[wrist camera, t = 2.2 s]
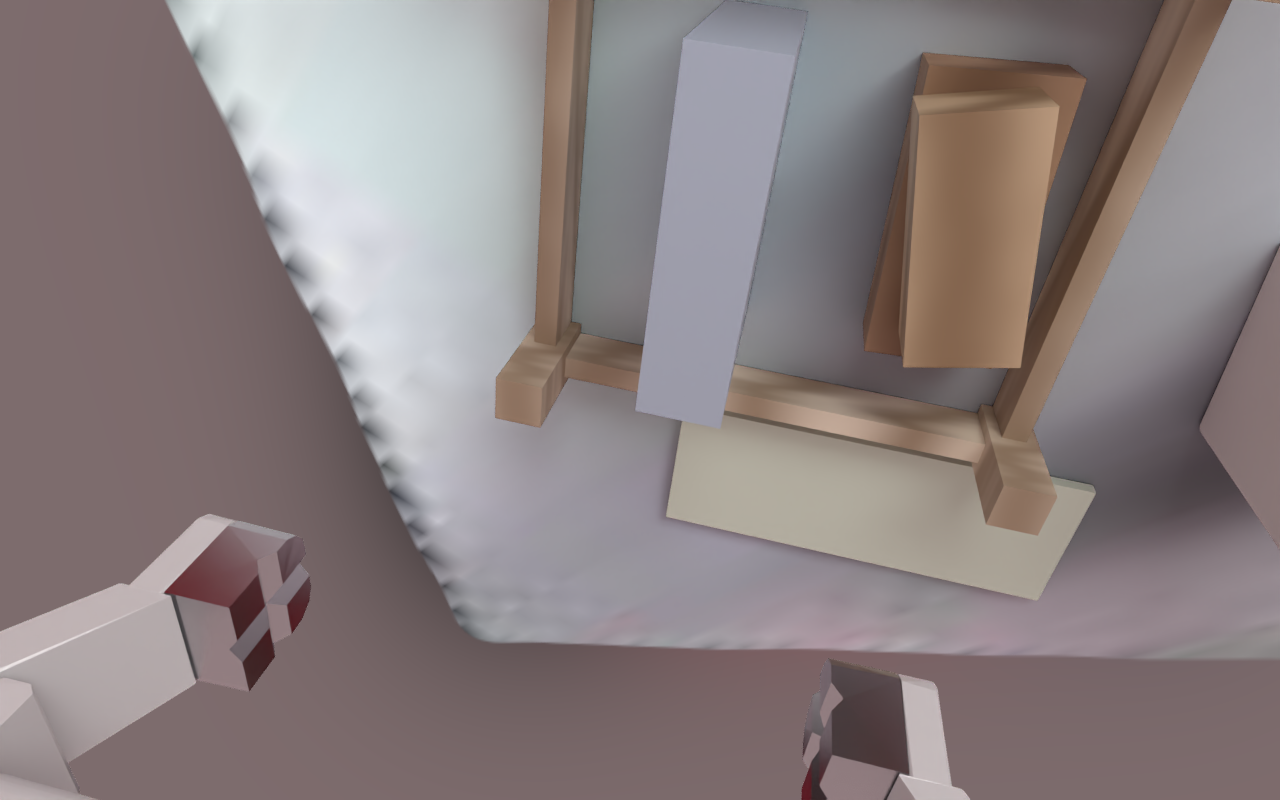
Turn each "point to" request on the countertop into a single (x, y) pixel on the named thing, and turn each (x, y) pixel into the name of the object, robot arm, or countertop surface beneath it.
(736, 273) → the lavender grey box
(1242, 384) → the soap bottle
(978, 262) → the offcut upper
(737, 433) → the mat
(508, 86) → the countertop surface
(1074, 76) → the offcut lower
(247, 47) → the countertop surface
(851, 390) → the rack
